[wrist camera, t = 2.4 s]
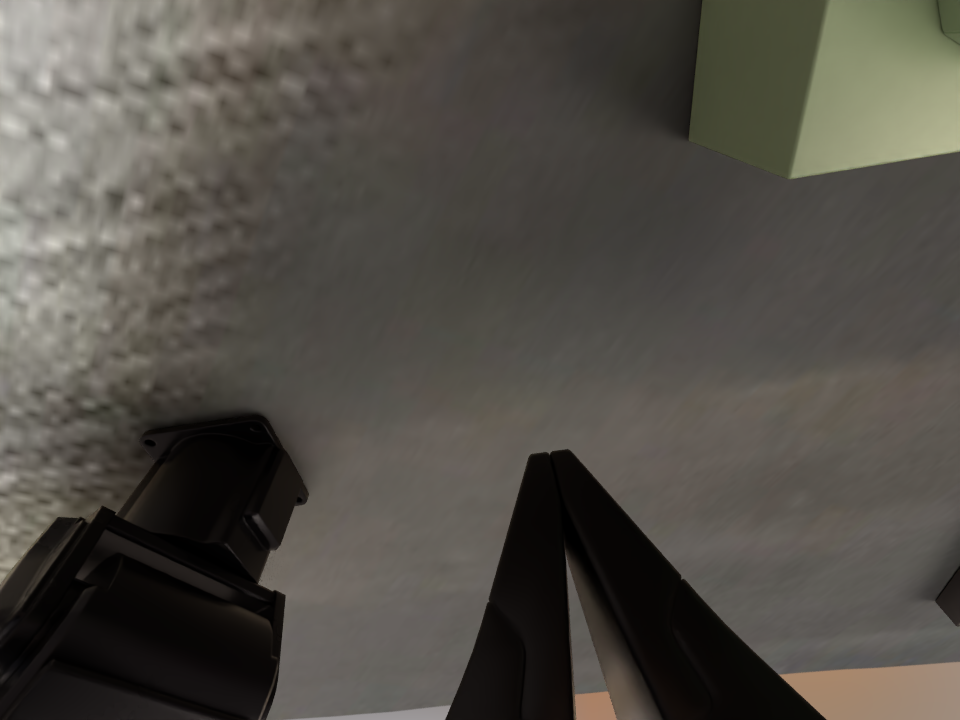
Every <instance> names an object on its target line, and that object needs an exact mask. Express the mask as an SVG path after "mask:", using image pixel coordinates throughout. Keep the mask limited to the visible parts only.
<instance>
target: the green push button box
mask: <svg viewBox="0 0 960 720" xmlns="http://www.w3.org/2000/svg"><path fill="white" fill-rule="evenodd" d="M689 141H690V142H693V143H696V144H698V145H701V146H703V147H706V148H709V149H711V150H714V151H716V152H719V153H721V154H724V155H727V156H729V157H732V158H734V159H737V160H740V161H742V162H745V163H747V164H750V165H752V166H755V167H758V168H760V169H763V170H765V171H768V172H771V173H773V174H776V175H778V176H781V177H784V178H786V179H794V178H800V177H806V176H813V175H819V174H825V173H831V172H837V171H843V170H849V169H856V168H862V167H868V166H874V165H880V164H886V163H892V162H899V161H905V160H911V159H917V158H923V157H929V156H935V155H942V154H948V153H954V152H960V0H702V10H701V20H700V30H699V40H698V50H697V60H696V70H695V80H694V90H693V100H692V110H691V120H690V130H689Z"/></svg>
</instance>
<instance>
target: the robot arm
mask: <svg viewBox="0 0 960 720" xmlns="http://www.w3.org/2000/svg"><path fill="white" fill-rule="evenodd" d="M255 424H257V425H259V426H257V425H255ZM139 442H140V444H141V446H142V447H143V448H144V449H145V451H146V452H147V453H148V454H149V455H150V457H151V458H152V459H153V460H154V462H155V463H154V465H153V466H152V468H151V469H150V470H149V472H148V473H147V474H146V476H145V477H144V478H143V480H142V481H141V482H140V484H139V485H138V486H137V488H136V489H135V490H134V492H133V493H132V495H131V496H130V497H129V499H128V500H127V501H126V503H125V504H124V505H123V507H122V508H121V509H120V511H119V512H118V513H117V515H115V513H116V512H114V511H112V510H110V509H108V508H106V507H104V506H101V507H100V508H99V509H97V510H96V511H95V512H94V513H92V514H91V515H90V516H89V517H88V518H86V519H84V518H82V517H79V518H65V517H58V518H57V519H55V520H54V521H53V522H52V523H51V524H50V525H49V526H48V527H47V528H46V529H45V531H44V532H43V533H42V534H41V535H40V536H39V537H38V539H37V540H36V541H35V542H34V543H33V544H32V546H31V547H30V548H29V549H28V550H27V551H26V553H25V554H24V555H23V556H22V557H21V558H20V560H19V561H18V562H17V563H16V564H15V566H14V567H13V568H12V569H11V571H10V572H9V573H8V575H7V576H6V577H5V579H4V580H3V581H2V583H1V584H0V720H266V718H267V715H268V713H269V710H270V708H271V705H272V703H273V699H274V696H275V692H276V688H277V682H278V674H279V663H280V652H281V641H282V630H283V618H284V607H285V595H284V594H282V593H280V592H278V591H276V590H274V591H271V590H269V589H267V588H265V587H263V586H261V585H259V584H258V582H259V579H260V577H261V574H262V571H263V569H264V566H265V564H266V561H267V558H268V556H269V553H270V550H276V549H277V548H278V547H279V546H280V544H281V542H282V539H283V536H284V534H285V531H286V528H287V525H288V523H289V520H290V517H291V514H292V512H293V509H294V506H298V505H303V504H305V503H306V502H307V499H308V496H309V493H308V491H307V489H306V487H305V486H304V484H303V480H302V478H301V477H300V475H299V473H298V471H297V469H296V468H295V466H294V464H293V462H292V461H291V459H290V457H289V455H288V453H287V452H286V451H285V450H284V448H283V446H282V445H281V443H280V441H279V439H278V437H277V436H276V434H275V432H274V430H273V428H272V427H271V425H270V423H269V421H268V420H267V419H266V418H264V417H263V416H260V415H252V416H245V417H238V418H231V419H225V420H218V421H211V422H204V423H197V424H190V425H183V426H176V427H169V428H162V429H155V430H149V431H146V432H145V433H144V434H143V435H142V437H141V438H140V439H139ZM565 552H566V556H567V560H568V564H569V567H570V571H571V574H572V577H573V580H574V583H575V587H576V590H577V593H578V596H579V599H580V603H581V606H582V609H583V612H584V615H585V619H586V622H587V625H588V628H589V631H590V635H591V638H592V641H593V644H594V647H595V651H596V654H597V657H598V660H599V663H600V667H601V670H602V673H603V676H604V679H605V682H606V686H607V689H608V692H609V695H610V698H611V702H612V705H613V708H614V711H615V714H616V718H617V720H826V719H825V718H824V717H823V716H822V715H821V714H820V713H819V712H818V711H817V710H816V709H814V708H813V707H812V706H811V705H810V704H809V703H808V702H807V701H806V700H805V699H804V698H803V697H802V696H801V695H799V694H798V693H797V692H796V691H795V690H794V689H793V688H792V687H791V686H790V685H789V684H788V683H787V682H786V681H784V679H782V678H781V677H780V676H779V675H778V674H777V673H776V672H775V671H774V670H773V669H772V668H771V667H770V666H769V665H768V664H766V663H765V662H764V661H763V660H762V659H761V658H760V657H759V656H758V655H757V654H756V653H755V652H754V651H753V650H752V649H751V648H750V647H749V646H748V645H746V644H745V643H744V642H743V641H742V640H741V639H740V638H739V637H738V636H737V635H736V634H735V633H734V632H733V631H732V630H731V629H730V628H729V627H728V626H727V625H726V624H725V623H724V622H723V621H722V620H721V619H720V618H719V617H718V615H717V614H716V613H715V612H714V611H713V610H712V609H711V608H710V607H709V606H708V605H707V604H706V603H705V602H704V600H703V599H702V598H701V597H700V596H699V595H698V594H697V593H696V592H695V590H694V589H693V588H692V587H691V586H690V585H689V584H688V583H687V581H686V580H684V579H682V580H681V575H680V574H679V573H678V571H677V570H676V569H675V568H674V567H673V566H672V565H671V564H670V562H669V561H668V560H667V559H666V558H665V557H664V556H663V555H662V553H661V552H660V551H659V550H658V549H657V548H656V547H655V545H654V544H653V543H652V542H651V541H650V540H649V539H648V538H647V536H646V535H645V534H644V533H643V532H642V531H641V530H640V528H639V527H638V526H637V525H636V524H635V523H634V522H633V521H632V519H631V518H630V517H629V516H628V515H627V514H626V513H625V511H624V510H623V509H622V508H621V507H620V506H619V505H618V504H617V502H616V501H615V500H614V499H613V498H612V497H611V496H610V495H609V493H608V492H607V491H606V490H605V489H604V488H603V487H602V485H601V484H600V483H599V482H598V481H597V480H596V479H595V478H594V476H593V475H592V474H591V473H590V472H589V471H588V470H587V468H586V467H585V466H584V465H583V464H582V463H581V462H580V461H579V459H578V458H577V457H576V456H575V455H574V454H573V453H572V452H571V451H570V450H568V449H565V450H558V451H552V452H551V453H550V455H549V453H547V452H543V453H535V454H531V455H530V456H529V458H528V461H527V465H526V469H525V472H524V476H523V479H522V483H521V486H520V490H519V493H518V497H517V500H516V504H515V508H514V511H513V515H512V518H511V522H510V525H509V529H508V532H507V536H506V539H505V543H504V547H503V550H502V554H501V557H500V561H499V564H498V568H497V571H496V575H495V578H494V582H493V586H492V589H491V593H490V596H489V602H488V603H487V606H486V609H485V613H484V617H483V620H482V623H481V627H480V630H479V633H478V636H477V639H476V642H475V646H474V649H473V652H472V654H471V657H470V660H469V662H468V665H467V668H466V670H465V673H464V675H463V678H462V681H461V683H460V686H459V688H458V691H457V693H456V695H455V698H454V700H453V703H452V705H451V707H450V710H449V712H448V715H447V717H446V719H445V720H576V708H575V692H574V677H573V662H572V646H571V630H570V615H569V599H568V584H567V569H566V556H565Z"/></svg>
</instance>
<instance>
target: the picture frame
mask: <svg viewBox="0 0 960 720" xmlns="http://www.w3.org/2000/svg"><path fill="white" fill-rule="evenodd" d="M936 603H937V604H938V605H939V606H940V608H941V609H942V610H943V611H944V612H945V613H946V615H947V616H948V617H949V618H950V619H951V620H952V622H953V623H954V624H955V625H956V626H960V569H959V570H958V571H957V573H956V574H955V575H954V577H953V578H952V580H951V581H950V582H949V584H948V585H947V586H946V588H945V589H944V591H943V592H942V593H941V595H940V596H939V597H938V599H937V600H936Z"/></svg>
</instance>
